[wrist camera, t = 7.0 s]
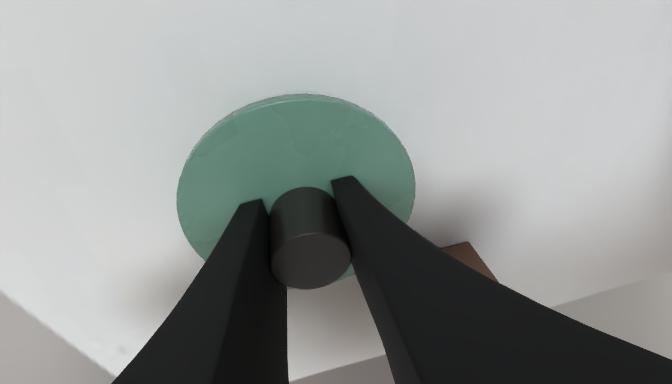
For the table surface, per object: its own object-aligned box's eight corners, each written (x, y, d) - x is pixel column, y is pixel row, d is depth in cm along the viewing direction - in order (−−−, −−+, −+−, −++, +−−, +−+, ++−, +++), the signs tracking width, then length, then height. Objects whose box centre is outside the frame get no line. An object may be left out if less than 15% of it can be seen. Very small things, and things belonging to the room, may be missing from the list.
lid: (398, 58, 8) (452, 94, 6) (409, 242, 12) (442, 305, 10) (132, 124, 8) (75, 188, 5) (236, 288, 12) (228, 364, 9)
